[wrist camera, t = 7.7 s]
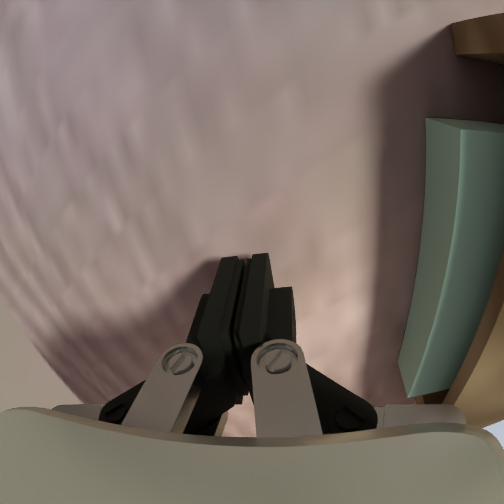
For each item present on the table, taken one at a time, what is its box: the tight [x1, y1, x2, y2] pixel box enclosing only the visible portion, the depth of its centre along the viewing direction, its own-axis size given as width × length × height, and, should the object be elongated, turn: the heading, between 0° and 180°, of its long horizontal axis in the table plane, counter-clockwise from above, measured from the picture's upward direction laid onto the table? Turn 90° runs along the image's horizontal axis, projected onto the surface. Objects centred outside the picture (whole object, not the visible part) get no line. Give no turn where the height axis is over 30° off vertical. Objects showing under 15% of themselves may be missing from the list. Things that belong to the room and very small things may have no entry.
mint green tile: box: [398, 118, 504, 398], centre depth 10 cm, size 12×6×2 cm, turn 9°
